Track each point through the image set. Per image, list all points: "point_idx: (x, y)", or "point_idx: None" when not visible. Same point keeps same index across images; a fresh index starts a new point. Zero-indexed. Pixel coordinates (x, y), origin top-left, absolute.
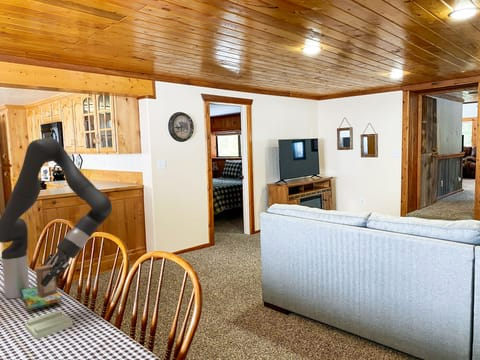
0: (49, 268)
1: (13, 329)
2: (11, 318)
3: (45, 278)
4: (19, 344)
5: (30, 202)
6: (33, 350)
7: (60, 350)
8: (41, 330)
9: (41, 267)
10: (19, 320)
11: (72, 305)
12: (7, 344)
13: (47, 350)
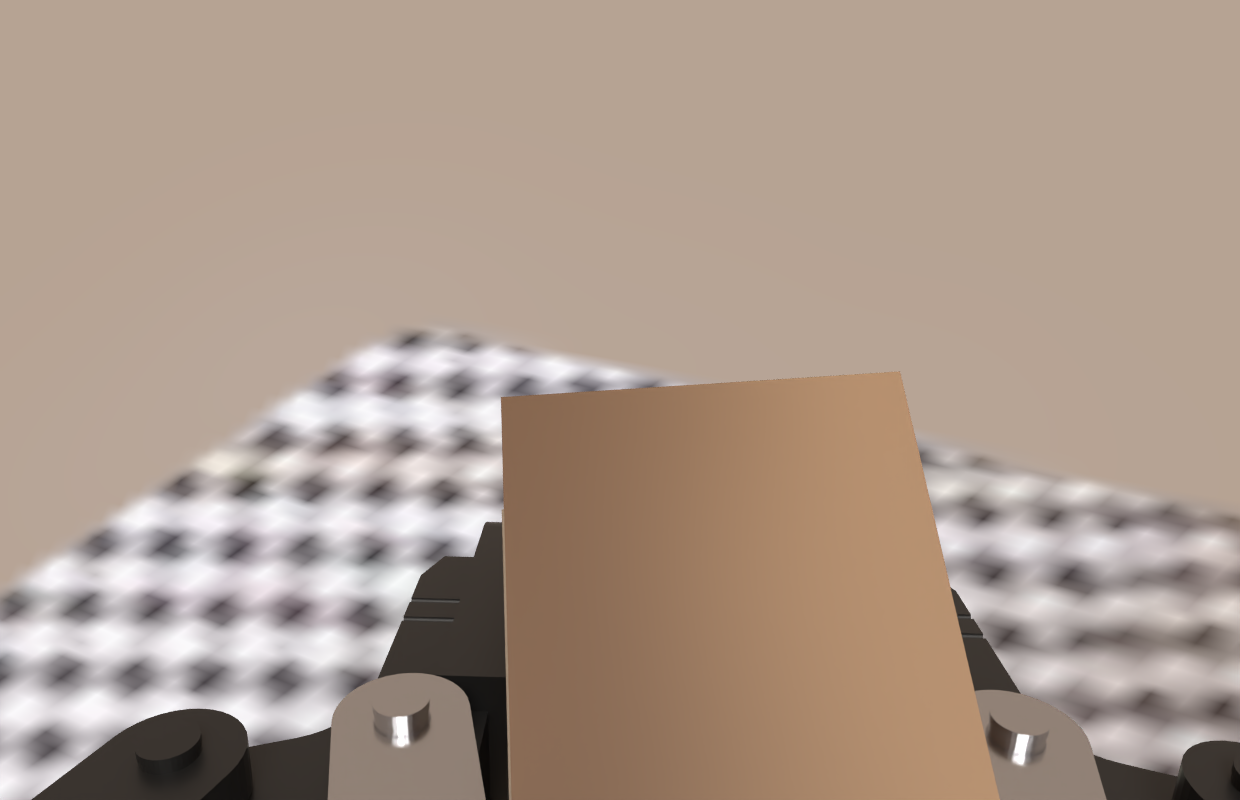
0: (515, 773)
1: None
2: (1206, 572)
3: (462, 619)
4: (497, 452)
5: None
6: (267, 501)
7: (17, 678)
8: None
9: (807, 535)
10: (1086, 618)
11: None
12: (588, 383)
13: (143, 589)
